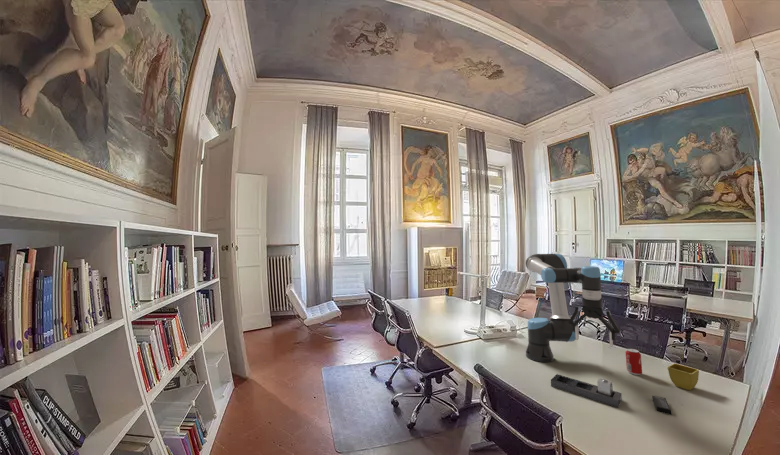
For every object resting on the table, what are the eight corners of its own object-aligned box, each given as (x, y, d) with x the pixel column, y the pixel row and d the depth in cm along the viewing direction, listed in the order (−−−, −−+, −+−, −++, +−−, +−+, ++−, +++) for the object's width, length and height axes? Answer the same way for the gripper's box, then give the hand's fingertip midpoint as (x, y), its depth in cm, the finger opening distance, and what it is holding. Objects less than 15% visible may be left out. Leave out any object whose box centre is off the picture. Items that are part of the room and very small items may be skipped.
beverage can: (645, 376, 147) (643, 352, 148) (631, 375, 148) (629, 352, 149) (637, 371, 153) (635, 348, 154) (624, 370, 154) (622, 347, 155)
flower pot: (693, 393, 129) (692, 373, 130) (668, 385, 137) (667, 366, 138) (700, 389, 133) (699, 369, 134) (675, 381, 141) (674, 363, 142)
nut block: (598, 399, 126) (597, 380, 126) (601, 395, 129) (599, 377, 129) (610, 403, 122) (609, 383, 123) (613, 399, 125) (612, 380, 126)
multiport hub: (657, 412, 116) (656, 406, 116) (652, 400, 125) (651, 394, 125) (671, 416, 114) (671, 410, 114) (665, 403, 123) (665, 397, 123)
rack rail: (551, 386, 138) (550, 379, 138) (557, 380, 144) (556, 374, 144) (618, 408, 119) (617, 400, 119) (621, 399, 125) (621, 392, 125)
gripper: (560, 296, 142) (562, 338, 142) (623, 303, 124) (625, 352, 123) (565, 293, 147) (566, 334, 147) (626, 301, 129) (628, 347, 128)
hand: (593, 342), depth 135 cm, fingers open, 13 cm apart
